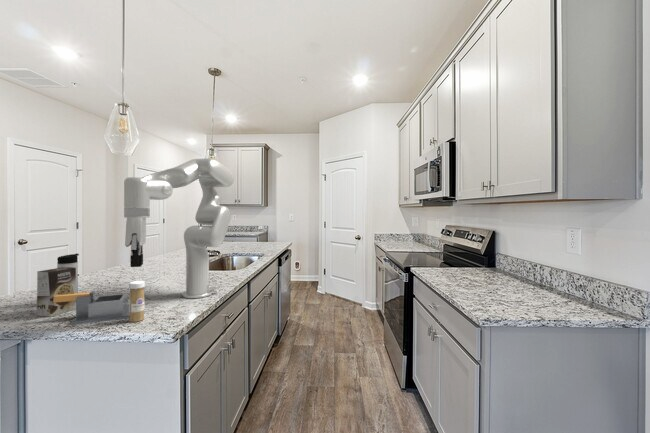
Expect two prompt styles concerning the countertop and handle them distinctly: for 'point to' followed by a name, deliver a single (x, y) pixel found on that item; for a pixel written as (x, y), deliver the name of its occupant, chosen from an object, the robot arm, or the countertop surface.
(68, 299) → the lock bar
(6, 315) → the countertop surface
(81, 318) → the dock
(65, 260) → the travel mug
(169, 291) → the countertop surface
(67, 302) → the coffee box
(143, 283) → the sprinkles bottle
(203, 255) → the robot arm
